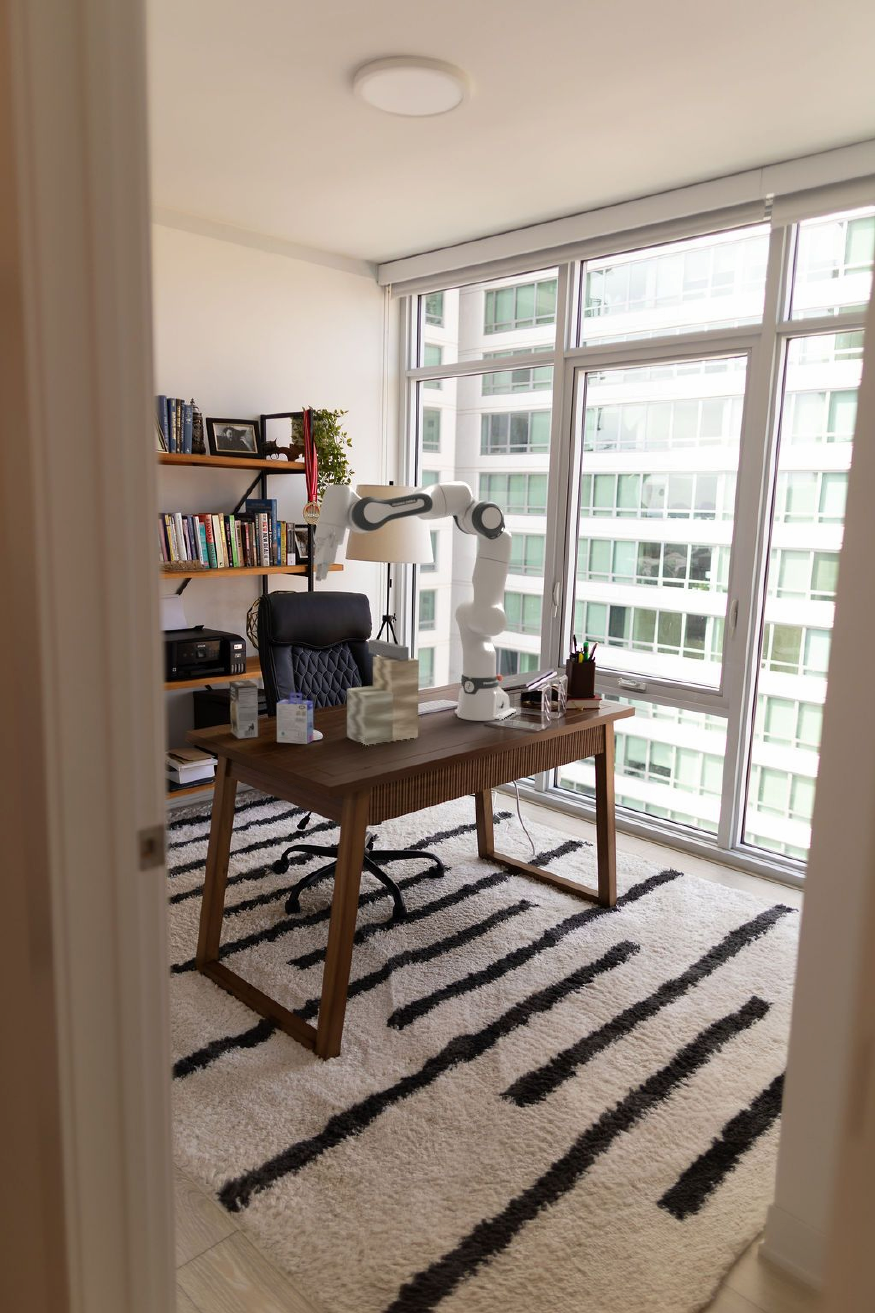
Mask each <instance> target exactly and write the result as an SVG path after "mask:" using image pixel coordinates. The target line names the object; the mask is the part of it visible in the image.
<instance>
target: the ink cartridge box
mask: <svg viewBox="0 0 875 1313" xmlns="http://www.w3.org/2000/svg"><path fill="white" fill-rule="evenodd" d="M293 696H298V697H293ZM302 698H303V692H290V696H289V699H281V700H279V701H278V702H276V742H277V743H284V744H285V743H286V744H288V743H289V744H301V745H308V744H309V743H311V742H313V741H314V701H313V700H303V699H302Z"/></svg>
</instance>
